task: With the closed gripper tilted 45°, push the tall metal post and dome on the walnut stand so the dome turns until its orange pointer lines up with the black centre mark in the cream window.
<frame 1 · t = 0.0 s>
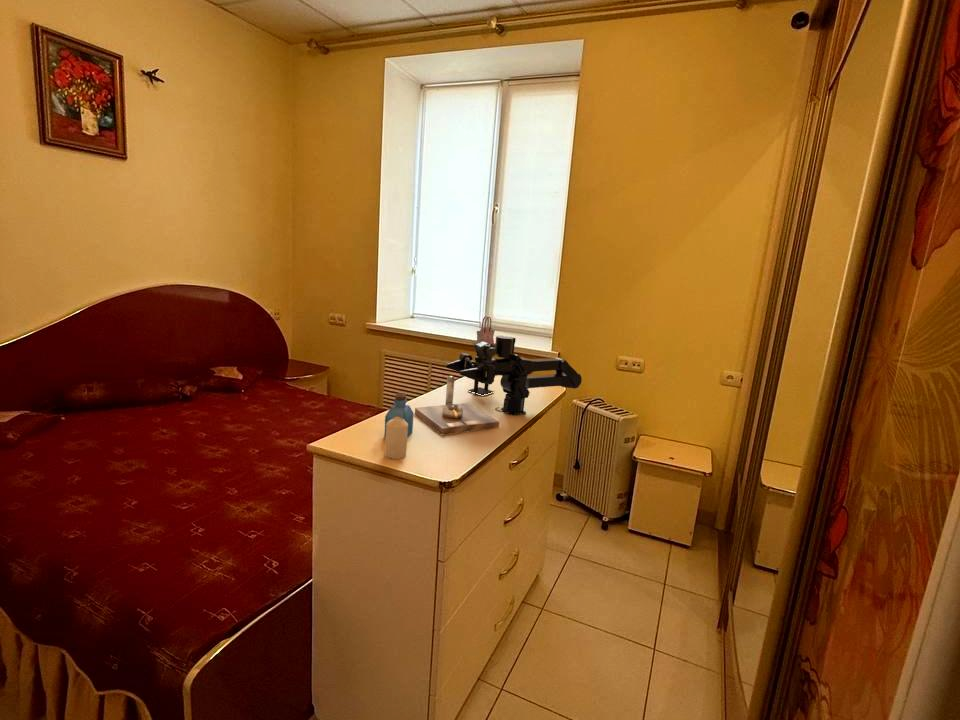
hand: (453, 369, 156), 17 cm above the table, tool horizontal, fingers open, 9 cm apart
perfume bottle: (398, 435, 143), on the table
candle: (395, 455, 129), on the table
metal post and dome: (453, 398, 157), point 8 cm above the table, hinge at -20.0°
stand: (455, 420, 159), on the table
handbag: (480, 393, 194), on the table
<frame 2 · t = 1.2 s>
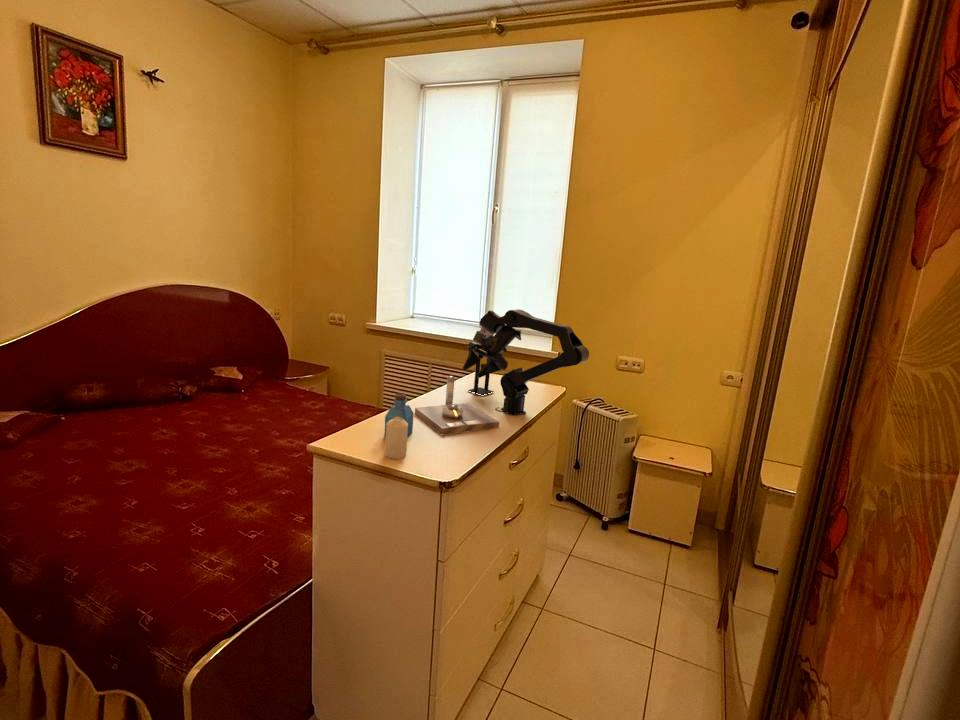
hand: (470, 373, 167), 13 cm above the table, tool tilted 45°, fingers open, 9 cm apart
nothing on the table moved.
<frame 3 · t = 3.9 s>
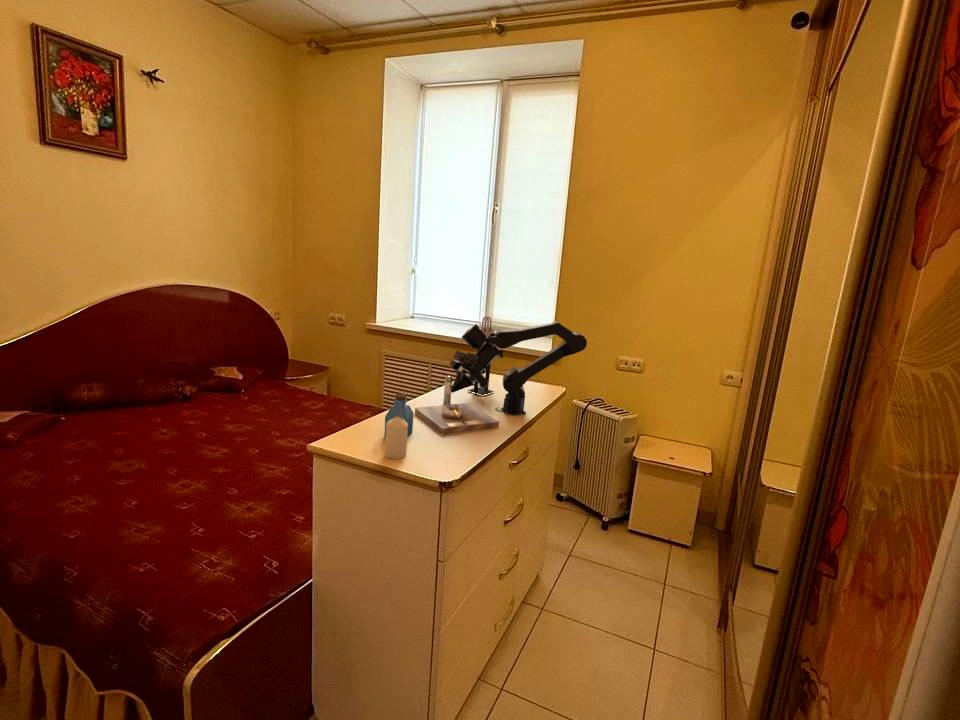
hand: (450, 391, 165), 7 cm above the table, tool tilted 45°, fingers closed, pressing on metal post and dome
metal post and dome: (452, 398, 157), point 8 cm above the table, hinge at -15.2°, touching gripper
everything else where it was.
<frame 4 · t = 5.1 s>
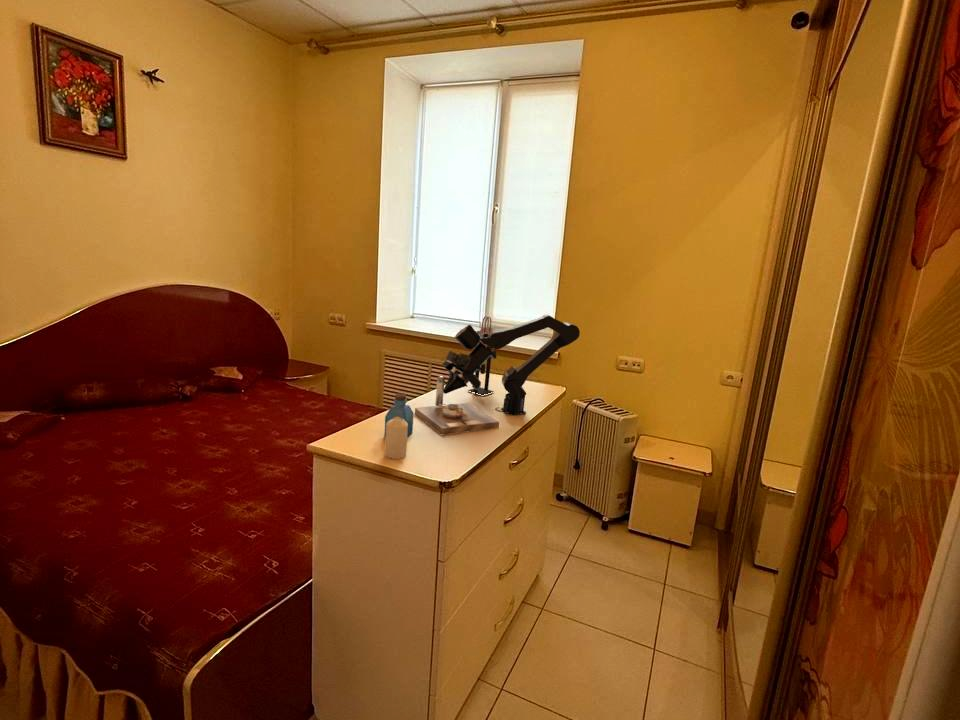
hand: (443, 392, 164), 7 cm above the table, tool tilted 45°, fingers closed, pressing on metal post and dome
metal post and dome: (451, 398, 156), point 8 cm above the table, hinge at 2.4°, touching gripper
everything else where it was.
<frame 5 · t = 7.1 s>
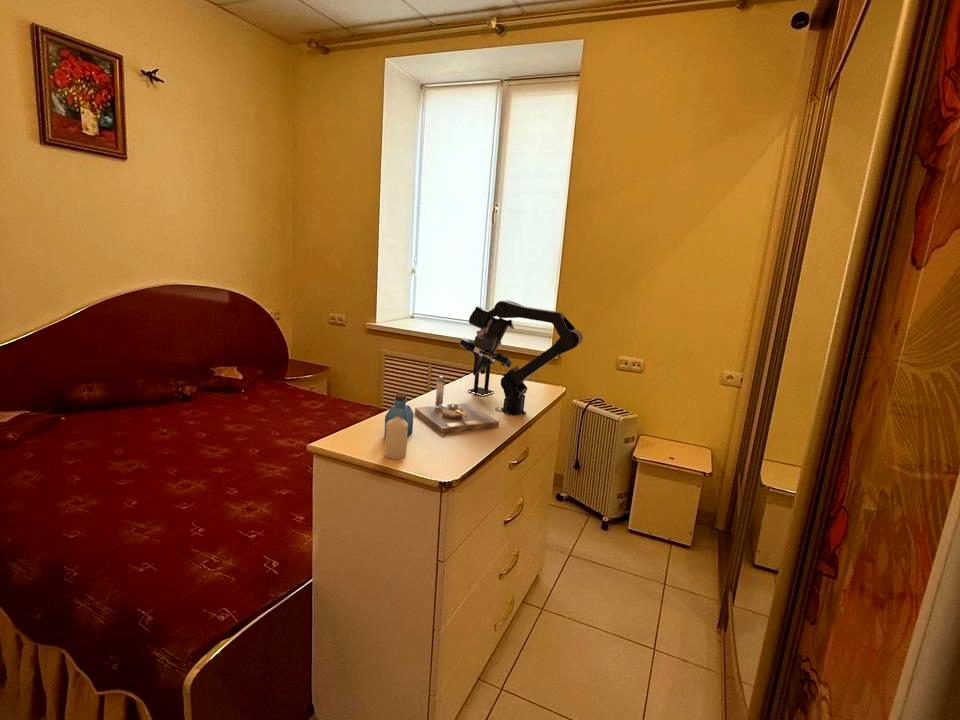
hand: (474, 375, 168), 12 cm above the table, tool tilted 30°, fingers closed
metal post and dome: (451, 398, 156), point 8 cm above the table, hinge at 2.5°
everything else where it was.
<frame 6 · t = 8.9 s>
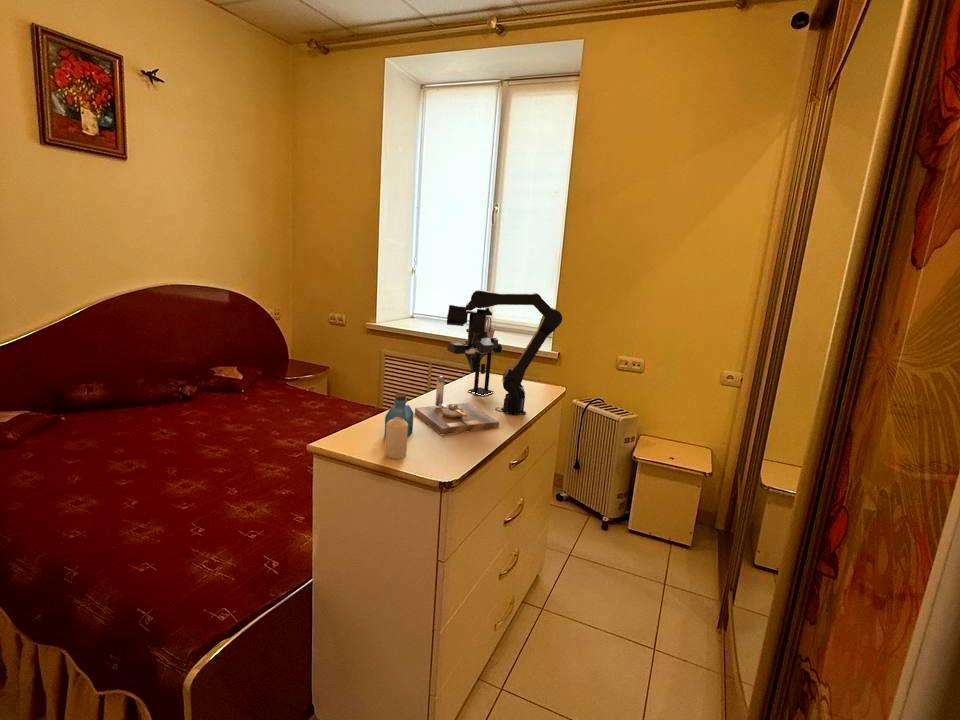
hand: (473, 372, 170), 13 cm above the table, tool pointing down, fingers closed
nothing on the table moved.
at the end: metal post and dome at +2° (first picture: -20°) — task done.
